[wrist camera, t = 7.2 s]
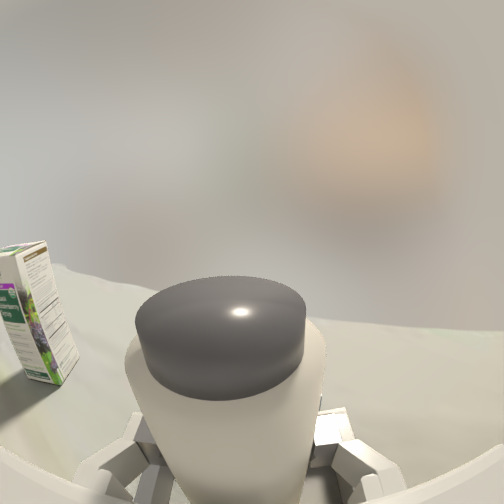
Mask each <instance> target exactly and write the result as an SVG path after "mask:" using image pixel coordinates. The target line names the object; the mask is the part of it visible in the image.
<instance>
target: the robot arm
mask: <svg viewBox="0 0 504 504" xmlns="http://www.w3.org/2000/svg"><path fill="white" fill-rule="evenodd" d="M309 462H310V467H311V468H315V467H323V466H331V467H332V468H333V469H334V470H335V471H336V472H337V473H338V474H339V475H340V476H342V477H343V478H344V479H345V480H346V481H347V482H348V483H349V484H350V485H351V486H352V487H353V488H355V490H354V492H353V493H352V495H351V496H350V498H349V499H348V501H347V503H348V504H504V444H499V445H497V446H495V447H493V448H492V449H490V450H489V451H487V452H485V453H484V454H482V455H480V456H478V457H477V458H475V459H473V460H471V461H469V462H467V463H466V464H464V465H462V466H460V467H458V468H456V469H454V470H452V471H450V472H448V473H445V474H443V475H441V476H439V477H437V478H434V479H432V480H429V481H427V482H425V483H422V484H420V485H417V486H414V487H412V488H409V489H407V486H406V484H405V481H404V478H403V476H402V473H401V471H400V468H399V466H398V465H396V464H395V463H393V462H392V461H390V460H389V459H387V458H386V457H384V456H383V455H381V454H380V453H378V452H377V451H375V450H374V449H372V448H371V447H369V446H368V445H366V444H365V443H363V442H362V441H361V440H359V439H358V440H355V437H354V434H353V431H352V428H351V425H350V422H349V419H348V416H347V413H346V412H345V411H342V412H335V413H327V414H320V415H318V417H317V423H316V429H315V434H314V439H313V444H312V449H311V454H310V459H309ZM149 464H151V465H158V466H166V467H168V465H167V463H166V461H165V459H164V457H163V455H162V454H161V452H160V450H159V448H158V446H157V444H156V442H155V440H154V438H153V436H152V434H151V432H150V429H149V427H148V425H147V423H146V421H145V419H144V416H143V414H142V413H139V412H134V413H133V414H132V415H131V417H130V419H129V422H128V424H127V426H126V429H125V431H124V433H123V436H122V438H121V439H120V438H118V439H116V440H115V441H113V442H112V443H110V444H108V445H107V446H105V447H104V448H102V449H101V450H99V451H97V452H96V453H94V454H93V455H91V456H89V457H88V458H86V459H84V460H83V461H81V463H80V465H79V467H78V469H77V471H76V473H75V475H74V477H73V480H72V482H70V481H67V480H65V479H63V478H60V477H58V476H56V475H54V474H51V473H49V472H47V471H45V470H43V469H41V468H39V467H37V466H35V465H33V464H31V463H29V462H28V461H26V460H24V459H22V458H20V457H19V456H17V455H15V454H13V453H12V452H10V451H8V450H7V449H5V448H4V447H2V446H1V445H0V504H138V503H134V502H132V500H133V497H132V496H131V495H130V494H129V492H128V491H127V490H126V489H125V487H126V486H127V485H129V484H130V483H131V482H132V481H133V480H134V479H135V478H136V477H138V476H139V475H140V474H141V473H142V472H143V471H144V470H145V469H146V468H147V467H148V466H150V465H149Z"/></svg>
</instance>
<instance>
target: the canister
mask: <svg viewBox="0 0 504 504" xmlns="http://www.w3.org/2000/svg"><path fill="white" fill-rule="evenodd" d="M135 325H136V329H137V333H138V334H137V335H136V336H135V338H134V339H133V340H132V342H131V343H130V345H129V347H128V349H127V352H126V356H125V371H126V374H127V377H128V380H129V382H130V385H131V388H132V390H133V393H134V395H135V398H136V400H137V402H138V405H139V407H140V409H141V412H142V414H143V416H144V419H145V421H146V423H147V425H148V427H149V429H150V432H151V434H152V436H153V438H154V440H155V442H156V444H157V446H158V448H159V450H160V452H161V454H162V455H163V457H164V459H165V461H166V463H167V465H168V467H169V468H170V470H171V472H172V474H173V475H174V477H175V479H176V481H177V482H178V484H179V486H180V487H181V489H182V490H183V492H184V494H185V495H186V497H187V498H188V500H189V502H190V503H191V504H299V501H300V497H301V493H302V489H303V485H304V481H305V477H306V472H307V468H308V463H309V459H310V454H311V449H312V444H313V439H314V434H315V429H316V423H317V417H318V412H319V405H320V399H321V393H322V386H323V379H324V371H325V364H326V355H327V354H326V344H325V341H324V338H323V336H322V334H321V333H320V331H319V330H318V329H317V327H316V326H315V325H314V324H312V323H311V322H310V321H309V320H308V319H306V306H305V302H304V301H303V298H302V297H301V296H300V295H299V294H298V293H297V292H296V291H294V290H293V289H291V288H290V287H288V286H286V285H283V284H281V283H278V282H275V281H271V280H267V279H262V278H256V277H246V276H221V277H209V278H202V279H197V280H192V281H188V282H184V283H180V284H177V285H175V286H172V287H169V288H167V289H164V290H162V291H160V292H158V293H157V294H155V295H153V296H152V297H150V298H149V299H148V300H147V301H146V302H144V304H143V305H142V306H141V307H140V309H139V310H138V312H137V314H136V318H135Z"/></svg>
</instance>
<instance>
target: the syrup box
mask: <svg viewBox="0 0 504 504" xmlns="http://www.w3.org/2000/svg"><path fill="white" fill-rule="evenodd" d="M0 314H1V317H2V319H3V322H4V325H5V327H6V330H7V333H8V335H9V338H10V340H11V342H12V345H13V347H14V349H15V351H16V354H17V356H18V358H19V360H20V362H21V364H22V366H23V369H24V371H25V373H26V375H27V377H28V378H29V379H35V380H39V381H43V382H48V383H53V384H57V385H62V383H63V382H64V380H65V379H66V377H67V376H68V374H69V373H70V371H71V370H72V368H73V367H74V365H75V364H76V362H77V360H78V359H79V357H80V356H79V354H78V351H77V349H76V346H75V343H74V341H73V338H72V335H71V332H70V330H69V327H68V324H67V321H66V318H65V315H64V311H63V308H62V305H61V302H60V298H59V295H58V291H57V287H56V284H55V280H54V276H53V272H52V267H51V263H50V259H49V254H48V248H47V244H46V240H44V241H40V242H33V243H27V244H19V245H12V246H8V247H4V248H1V249H0Z"/></svg>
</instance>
